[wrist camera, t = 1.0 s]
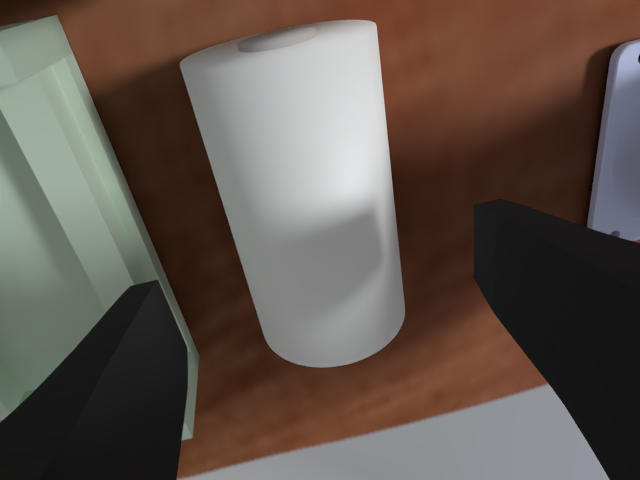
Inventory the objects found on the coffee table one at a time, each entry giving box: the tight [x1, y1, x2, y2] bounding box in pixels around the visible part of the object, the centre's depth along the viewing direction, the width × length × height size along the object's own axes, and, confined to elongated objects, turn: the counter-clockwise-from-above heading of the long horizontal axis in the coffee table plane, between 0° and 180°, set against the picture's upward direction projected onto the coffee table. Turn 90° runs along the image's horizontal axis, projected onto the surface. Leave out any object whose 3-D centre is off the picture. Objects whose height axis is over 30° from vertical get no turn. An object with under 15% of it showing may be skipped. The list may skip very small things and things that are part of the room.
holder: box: [0, 15, 199, 441], centre depth 14 cm, size 13×8×4 cm, turn 10°
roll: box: [180, 20, 405, 367], centre depth 14 cm, size 9×5×5 cm, turn 10°
